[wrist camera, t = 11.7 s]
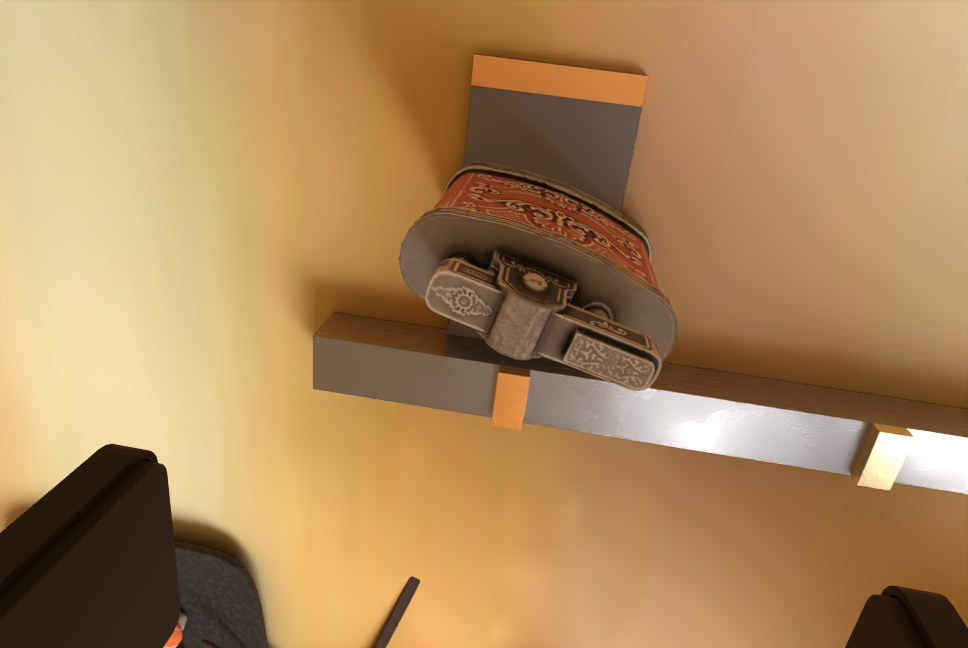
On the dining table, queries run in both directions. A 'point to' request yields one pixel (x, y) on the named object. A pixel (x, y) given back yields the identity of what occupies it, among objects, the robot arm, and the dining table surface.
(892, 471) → the rail
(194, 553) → the sushi plate
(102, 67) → the dining table surface
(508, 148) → the marked pad
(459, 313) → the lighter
